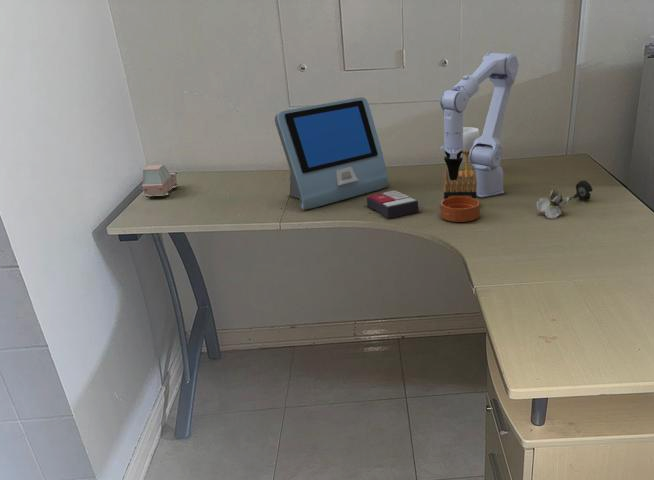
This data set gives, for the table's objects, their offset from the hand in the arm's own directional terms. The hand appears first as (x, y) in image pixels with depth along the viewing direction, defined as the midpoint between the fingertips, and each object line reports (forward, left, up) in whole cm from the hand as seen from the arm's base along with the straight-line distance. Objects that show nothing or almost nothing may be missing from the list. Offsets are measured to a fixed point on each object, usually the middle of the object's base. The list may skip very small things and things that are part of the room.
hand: (453, 176), depth 202 cm
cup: (-23, -29, -10) cm, 39 cm away
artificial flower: (-29, +21, -10) cm, 37 cm away
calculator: (+18, -8, -10) cm, 22 cm away
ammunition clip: (-2, +1, -10) cm, 10 cm away
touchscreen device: (+28, -33, -10) cm, 45 cm away
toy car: (+80, -68, -10) cm, 106 cm away
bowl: (+3, +9, -10) cm, 14 cm away
